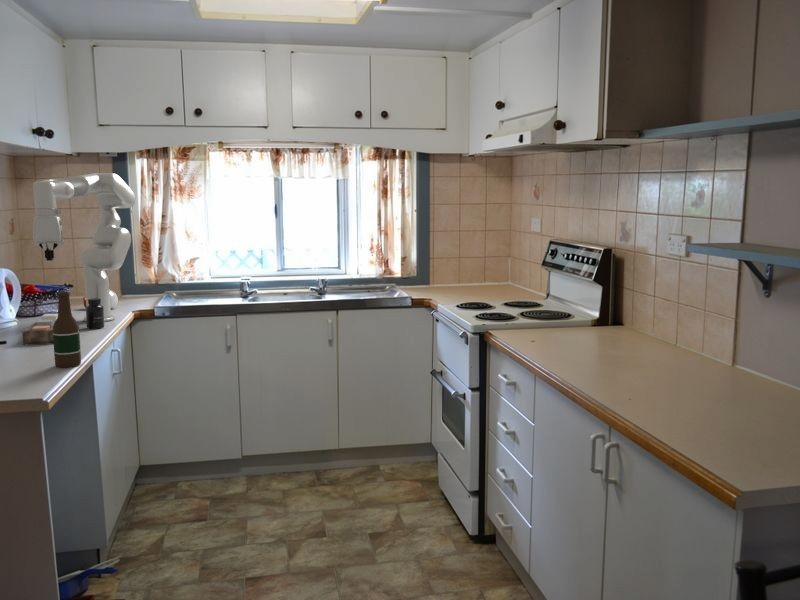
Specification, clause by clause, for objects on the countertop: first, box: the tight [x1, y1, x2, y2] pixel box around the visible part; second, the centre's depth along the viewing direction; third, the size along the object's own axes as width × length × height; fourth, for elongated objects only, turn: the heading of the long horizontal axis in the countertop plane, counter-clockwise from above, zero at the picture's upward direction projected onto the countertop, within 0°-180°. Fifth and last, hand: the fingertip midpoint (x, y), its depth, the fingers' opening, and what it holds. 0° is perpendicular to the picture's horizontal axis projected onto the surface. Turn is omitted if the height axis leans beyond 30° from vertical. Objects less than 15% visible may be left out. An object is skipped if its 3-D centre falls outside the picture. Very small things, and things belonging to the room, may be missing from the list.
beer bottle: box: [53, 290, 82, 369], centre depth 227 cm, size 8×8×24 cm
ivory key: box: [41, 313, 58, 321], centre depth 277 cm, size 5×5×4 cm
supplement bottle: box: [85, 298, 105, 330], centre depth 292 cm, size 7×7×12 cm
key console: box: [21, 320, 54, 346], centre depth 271 cm, size 11×21×5 cm, turn 13°
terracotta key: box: [32, 325, 50, 331], centre depth 264 cm, size 5×5×4 cm
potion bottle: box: [82, 289, 119, 310], centre depth 338 cm, size 9×10×15 cm
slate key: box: [36, 319, 55, 327], centre depth 270 cm, size 5×5×4 cm
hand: (49, 260), depth 278 cm, fingers closed
